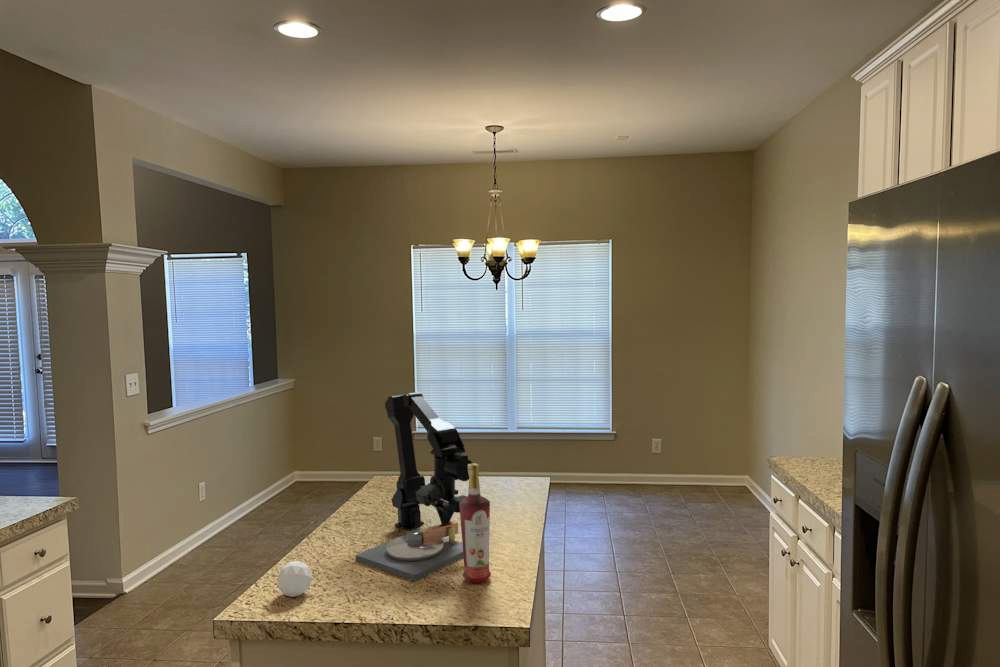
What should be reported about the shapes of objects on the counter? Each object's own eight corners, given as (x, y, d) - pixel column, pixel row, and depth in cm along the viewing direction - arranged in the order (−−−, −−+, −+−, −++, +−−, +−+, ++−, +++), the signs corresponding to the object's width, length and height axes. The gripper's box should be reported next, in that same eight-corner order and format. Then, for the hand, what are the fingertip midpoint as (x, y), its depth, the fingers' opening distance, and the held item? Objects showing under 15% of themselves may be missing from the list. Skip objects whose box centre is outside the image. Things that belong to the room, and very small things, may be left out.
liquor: (468, 589, 150) (464, 470, 149) (457, 577, 157) (453, 463, 156) (496, 582, 153) (493, 466, 152) (485, 571, 160) (481, 459, 158)
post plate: (355, 560, 169) (354, 540, 169) (416, 535, 186) (415, 516, 186) (414, 581, 155) (414, 558, 155) (474, 551, 173) (473, 531, 172)
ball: (304, 605, 150) (319, 582, 148) (271, 602, 146) (285, 578, 143) (302, 578, 156) (316, 556, 154) (270, 575, 152) (284, 551, 149)
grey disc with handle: (403, 566, 160) (402, 548, 160) (376, 548, 172) (376, 531, 172) (471, 545, 172) (471, 528, 172) (442, 530, 184) (441, 515, 184)
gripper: (400, 471, 179) (401, 526, 180) (442, 486, 165) (442, 545, 166) (433, 463, 187) (433, 516, 188) (475, 477, 173) (475, 534, 174)
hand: (444, 527), depth 179 cm, fingers closed
